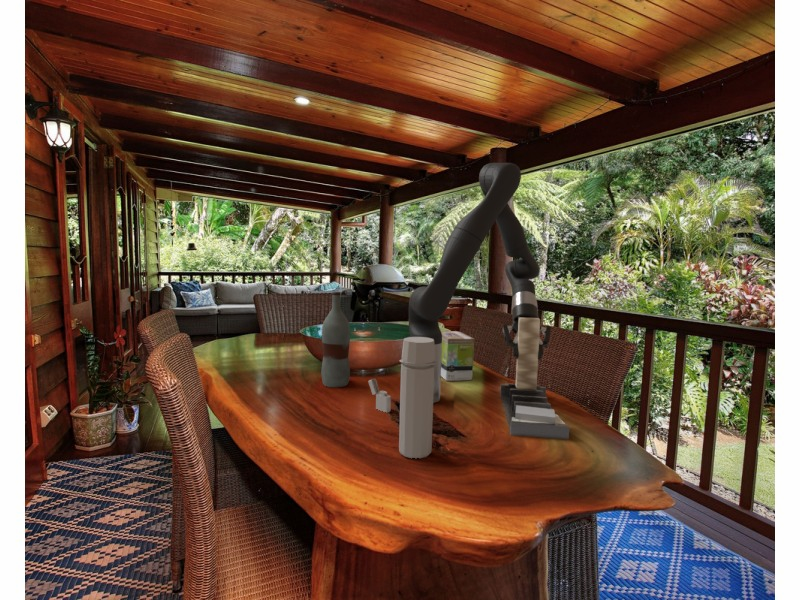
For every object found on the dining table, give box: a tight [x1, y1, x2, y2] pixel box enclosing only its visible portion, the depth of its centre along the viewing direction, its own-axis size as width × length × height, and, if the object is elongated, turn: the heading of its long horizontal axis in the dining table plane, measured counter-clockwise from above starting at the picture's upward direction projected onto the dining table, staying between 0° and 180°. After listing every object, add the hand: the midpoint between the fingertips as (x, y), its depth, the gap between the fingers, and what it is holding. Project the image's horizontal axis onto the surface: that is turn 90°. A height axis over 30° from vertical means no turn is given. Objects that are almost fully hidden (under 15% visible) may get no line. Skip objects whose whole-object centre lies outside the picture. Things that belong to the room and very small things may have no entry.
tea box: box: [441, 330, 475, 382], centre depth 161 cm, size 15×10×15 cm, turn 13°
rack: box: [499, 382, 570, 440], centre depth 120 cm, size 13×31×6 cm, turn 172°
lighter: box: [367, 378, 392, 414], centre depth 125 cm, size 7×2×8 cm, turn 51°
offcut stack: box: [512, 405, 566, 425], centre depth 109 cm, size 11×7×4 cm, turn 82°
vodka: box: [320, 291, 351, 388], centre depth 146 cm, size 9×9×30 cm
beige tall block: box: [514, 317, 541, 390], centre depth 129 cm, size 6×3×20 cm, turn 82°
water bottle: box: [398, 336, 437, 460], centre depth 98 cm, size 9×8×25 cm
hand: (528, 357), depth 127 cm, fingers closed on beige tall block, 5 cm apart
